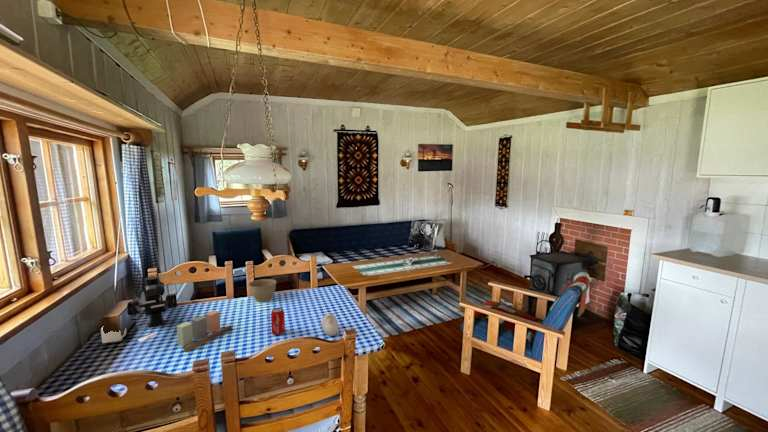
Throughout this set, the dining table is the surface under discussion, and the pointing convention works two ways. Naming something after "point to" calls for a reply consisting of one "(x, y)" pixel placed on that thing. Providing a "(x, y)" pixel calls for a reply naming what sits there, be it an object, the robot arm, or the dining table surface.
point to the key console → (207, 338)
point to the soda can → (277, 321)
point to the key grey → (199, 327)
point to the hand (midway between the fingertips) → (152, 310)
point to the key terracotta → (213, 321)
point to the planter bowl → (262, 289)
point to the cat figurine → (330, 324)
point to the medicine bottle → (112, 336)
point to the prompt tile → (146, 337)
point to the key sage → (184, 334)
